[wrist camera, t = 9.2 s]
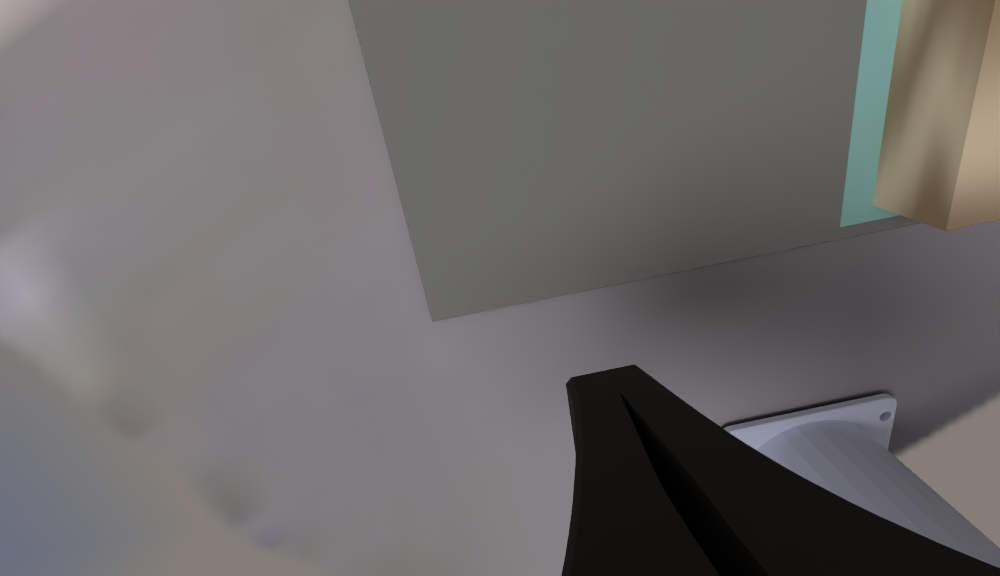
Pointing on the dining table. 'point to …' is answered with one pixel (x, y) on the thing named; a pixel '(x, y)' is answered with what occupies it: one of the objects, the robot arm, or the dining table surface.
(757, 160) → the push mat
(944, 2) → the t block
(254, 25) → the dining table surface
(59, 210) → the dining table surface
